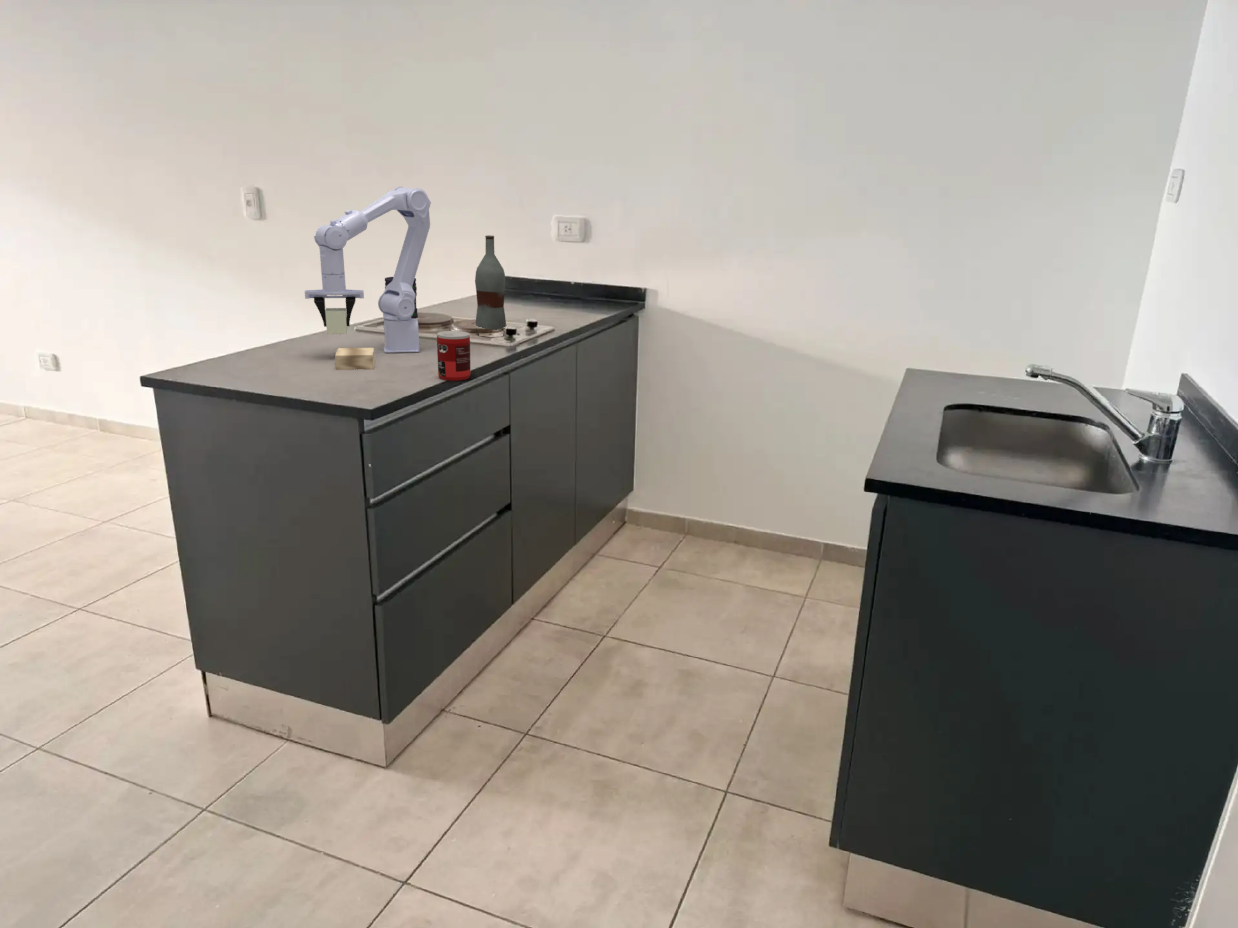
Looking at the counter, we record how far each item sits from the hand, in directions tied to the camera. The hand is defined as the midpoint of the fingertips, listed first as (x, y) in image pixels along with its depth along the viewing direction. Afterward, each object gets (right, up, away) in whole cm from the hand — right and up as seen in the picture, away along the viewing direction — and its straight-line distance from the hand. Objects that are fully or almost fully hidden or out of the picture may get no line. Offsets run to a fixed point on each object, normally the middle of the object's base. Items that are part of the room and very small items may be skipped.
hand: (336, 325), depth 223 cm
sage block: (0, -2, +1) cm, 2 cm away
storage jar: (+4, +8, +50) cm, 51 cm away
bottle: (+34, +4, +41) cm, 54 cm away
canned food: (+33, -15, -12) cm, 39 cm away
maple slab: (+6, -11, -4) cm, 14 cm away
